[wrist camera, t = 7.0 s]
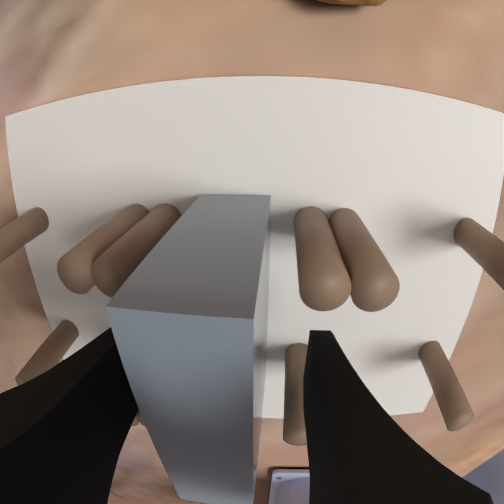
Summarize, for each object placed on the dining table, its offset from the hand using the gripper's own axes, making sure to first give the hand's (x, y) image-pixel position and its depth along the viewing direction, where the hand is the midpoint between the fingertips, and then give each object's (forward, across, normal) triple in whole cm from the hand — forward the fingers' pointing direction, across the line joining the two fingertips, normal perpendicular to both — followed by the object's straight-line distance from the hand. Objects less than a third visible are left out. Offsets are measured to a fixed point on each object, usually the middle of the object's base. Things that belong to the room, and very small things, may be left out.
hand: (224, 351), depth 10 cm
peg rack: (+4, 0, 0) cm, 4 cm away
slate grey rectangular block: (+3, 0, 0) cm, 3 cm away
